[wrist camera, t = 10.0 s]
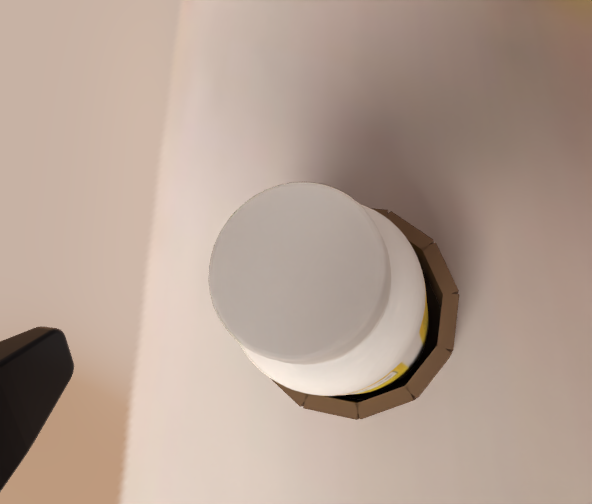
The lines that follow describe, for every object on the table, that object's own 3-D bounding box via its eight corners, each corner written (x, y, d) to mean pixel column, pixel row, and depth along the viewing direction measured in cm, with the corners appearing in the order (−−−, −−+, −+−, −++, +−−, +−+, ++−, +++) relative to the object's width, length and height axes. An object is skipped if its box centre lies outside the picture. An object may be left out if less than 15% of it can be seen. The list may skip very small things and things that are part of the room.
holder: (373, 453, 18) (363, 466, 15) (239, 331, 21) (210, 322, 18) (492, 303, 18) (503, 287, 15) (345, 201, 21) (333, 172, 18)
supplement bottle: (342, 235, 21) (272, 112, 11) (455, 305, 19) (481, 226, 9) (268, 340, 20) (135, 300, 11) (376, 424, 18) (324, 459, 9)
